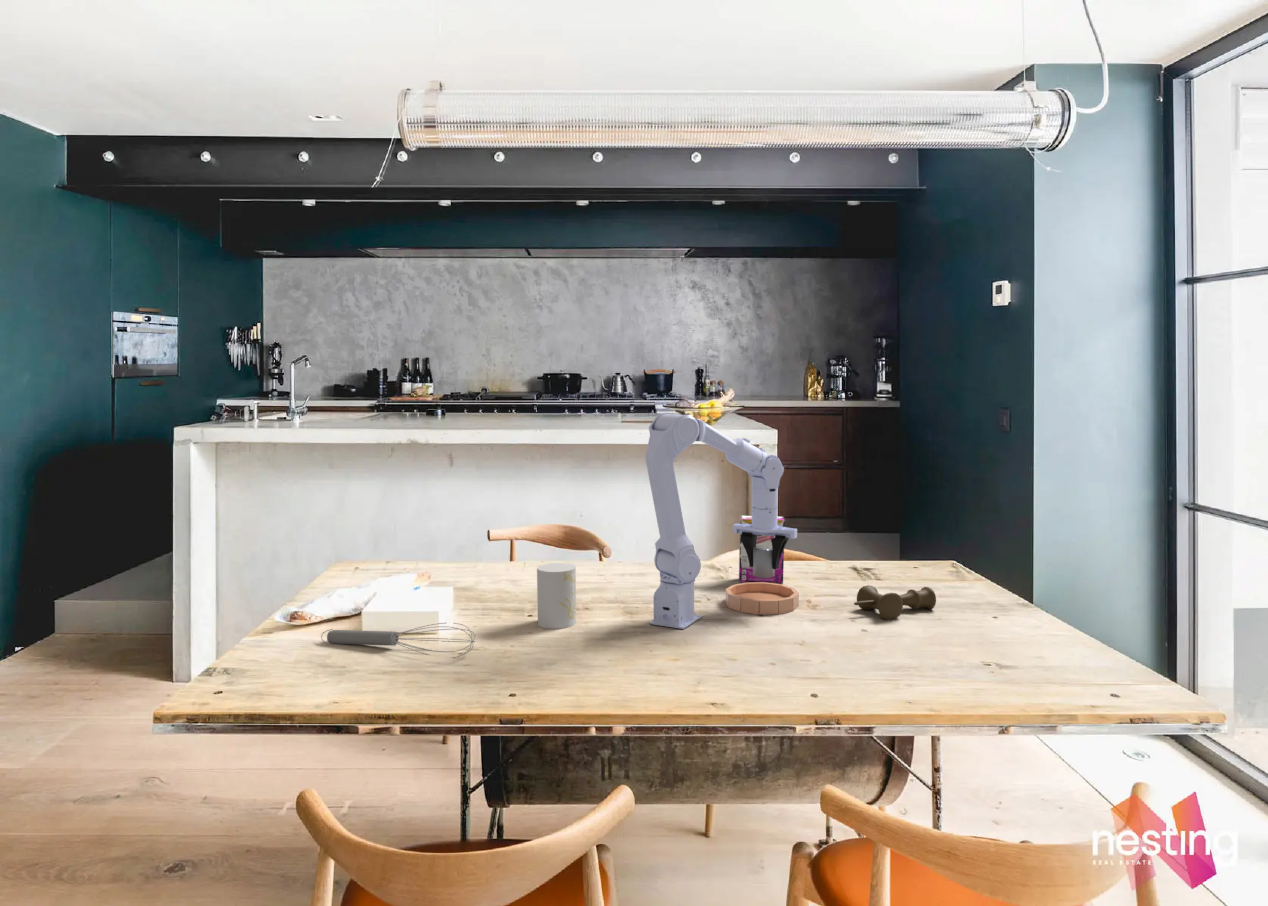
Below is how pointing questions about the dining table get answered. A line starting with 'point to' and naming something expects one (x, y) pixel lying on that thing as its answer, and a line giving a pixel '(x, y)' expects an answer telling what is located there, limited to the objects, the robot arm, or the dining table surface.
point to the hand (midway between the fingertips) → (764, 566)
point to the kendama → (894, 601)
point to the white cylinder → (556, 595)
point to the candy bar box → (762, 541)
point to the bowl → (762, 598)
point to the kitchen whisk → (384, 638)
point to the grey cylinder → (763, 562)
